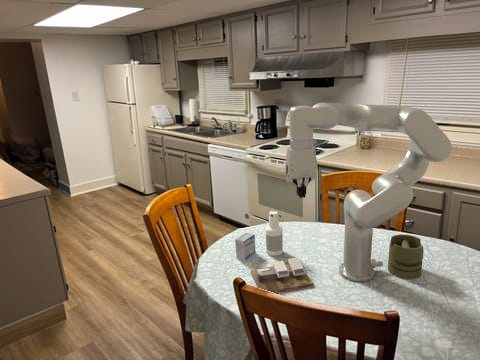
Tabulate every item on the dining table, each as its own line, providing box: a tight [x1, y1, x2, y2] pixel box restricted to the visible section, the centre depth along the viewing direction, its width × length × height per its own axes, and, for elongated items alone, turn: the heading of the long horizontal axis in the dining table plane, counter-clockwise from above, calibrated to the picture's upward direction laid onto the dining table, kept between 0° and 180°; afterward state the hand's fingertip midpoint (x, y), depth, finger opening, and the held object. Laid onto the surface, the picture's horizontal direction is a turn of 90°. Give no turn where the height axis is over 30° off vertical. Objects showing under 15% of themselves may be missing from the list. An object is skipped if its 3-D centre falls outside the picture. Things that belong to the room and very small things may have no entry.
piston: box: [387, 234, 425, 280], centre depth 133 cm, size 11×12×11 cm
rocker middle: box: [271, 260, 289, 278], centre depth 133 cm, size 4×7×1 cm, turn 13°
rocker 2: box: [287, 256, 306, 276], centre depth 134 cm, size 4×7×1 cm, turn 13°
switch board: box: [250, 263, 315, 294], centre depth 133 cm, size 19×15×3 cm
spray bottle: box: [265, 210, 284, 257], centre depth 151 cm, size 7×7×18 cm
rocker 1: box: [257, 267, 273, 276], centre depth 132 cm, size 4×7×1 cm, turn 13°
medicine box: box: [234, 232, 257, 262], centre depth 151 cm, size 8×4×9 cm, turn 143°
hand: (301, 196), depth 126 cm, fingers closed
